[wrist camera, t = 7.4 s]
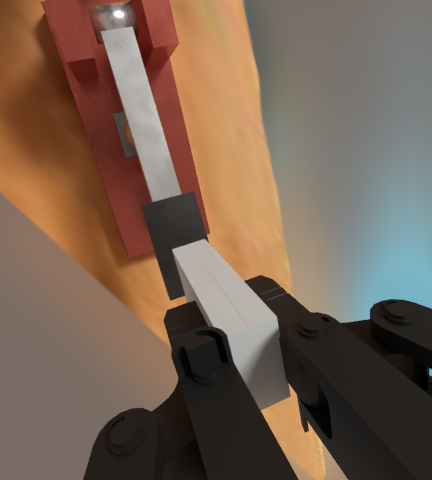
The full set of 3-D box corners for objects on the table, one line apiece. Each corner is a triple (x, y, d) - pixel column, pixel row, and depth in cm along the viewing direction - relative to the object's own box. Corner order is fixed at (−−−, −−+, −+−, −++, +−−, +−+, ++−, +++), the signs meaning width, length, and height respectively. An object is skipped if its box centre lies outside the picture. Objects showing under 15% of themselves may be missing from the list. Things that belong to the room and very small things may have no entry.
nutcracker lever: (82, 20, 25) (76, -1, 22) (137, 12, 26) (137, -8, 23) (167, 293, 28) (170, 300, 25) (213, 277, 29) (220, 283, 26)
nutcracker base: (45, 11, 29) (14, -50, 20) (151, -3, 31) (166, -64, 22) (128, 253, 38) (132, 288, 29) (205, 229, 40) (233, 255, 31)
